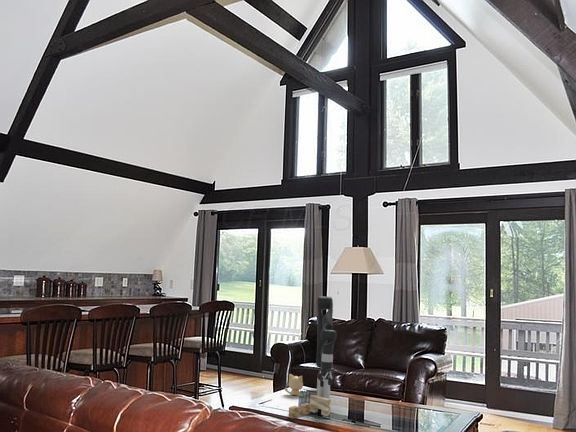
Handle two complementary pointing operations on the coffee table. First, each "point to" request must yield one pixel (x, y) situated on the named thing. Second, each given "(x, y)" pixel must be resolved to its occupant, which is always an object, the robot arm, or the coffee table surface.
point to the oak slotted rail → (299, 410)
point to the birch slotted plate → (320, 405)
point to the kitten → (295, 385)
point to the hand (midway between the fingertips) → (325, 385)
